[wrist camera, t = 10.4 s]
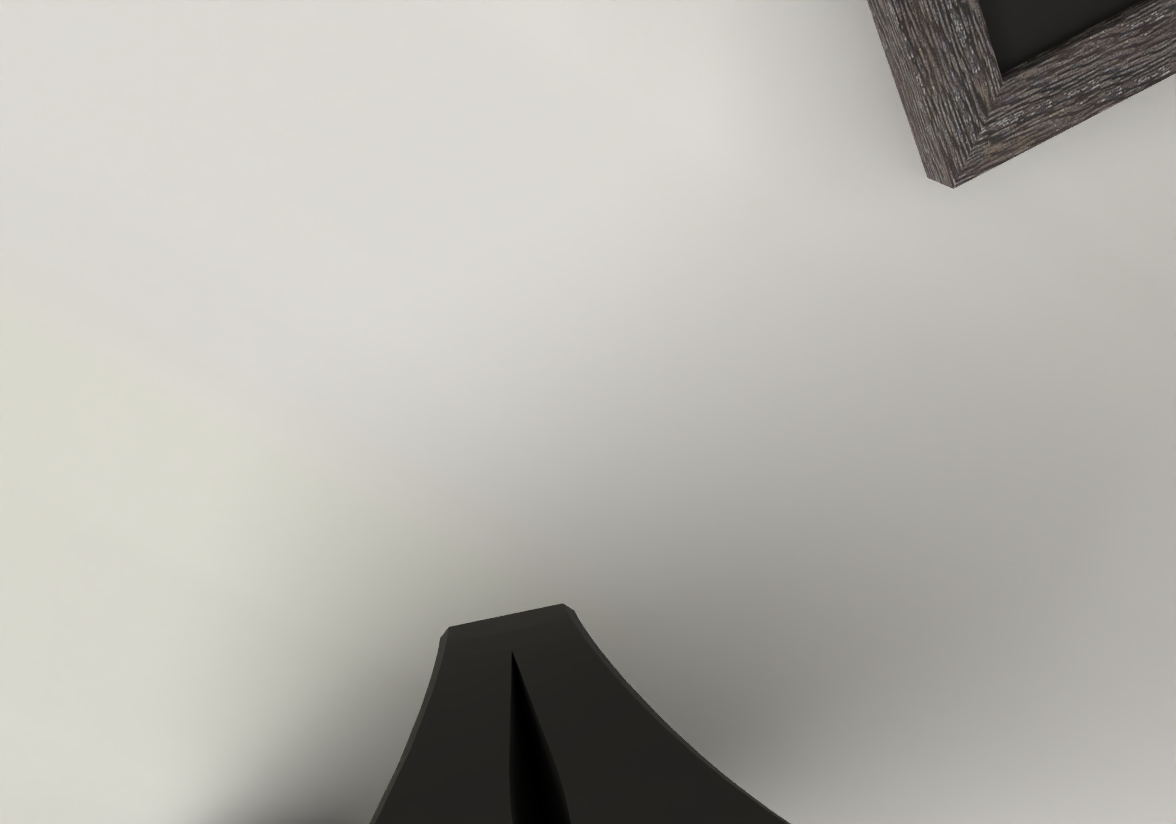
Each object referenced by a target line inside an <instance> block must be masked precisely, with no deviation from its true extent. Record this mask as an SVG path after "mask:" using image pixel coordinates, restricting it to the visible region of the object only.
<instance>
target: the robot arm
mask: <svg viewBox="0 0 1176 824" xmlns="http://www.w3.org/2000/svg"><path fill="white" fill-rule="evenodd" d="M370 824H790V823H789V822H787V821H786V820H784V819H783V818H781V817H780V816H778V815H777V814H775V813H774V812H772V811H771V810H770V809H768V808H767V807H765V806H764V805H763V804H761V803H760V802H759V801H758V800H756V799H755V798H754V797H752V796H751V795H750V794H748V793H747V792H746V791H744V790H743V789H742V788H740V787H739V786H738V785H736V784H735V783H734V782H733V781H731V780H730V779H729V778H728V777H726V776H725V775H724V774H723V773H721V772H720V771H719V770H718V769H717V768H715V767H714V766H713V765H712V764H711V763H710V762H708V761H707V760H706V759H705V758H704V757H703V756H701V755H700V754H699V753H698V752H697V751H696V750H695V749H694V748H693V747H692V746H690V745H689V744H688V743H687V742H686V741H685V740H684V739H683V738H682V737H681V736H679V735H678V734H677V733H676V732H675V731H674V730H673V729H672V728H671V727H670V726H669V725H668V724H667V723H666V722H665V721H664V720H663V719H662V718H661V717H660V716H659V715H658V714H657V713H656V712H655V711H654V710H653V709H652V708H651V707H650V706H649V705H648V704H647V703H646V702H645V701H644V699H643V698H642V697H641V696H640V695H639V694H638V693H637V692H636V691H635V690H634V689H633V688H632V687H631V686H630V685H629V684H628V683H627V681H626V680H625V679H624V678H623V677H622V676H621V675H620V673H619V672H618V671H617V670H616V669H615V668H614V666H613V665H612V664H611V663H610V661H609V660H608V659H607V658H606V656H605V655H604V654H603V653H602V652H601V650H600V649H599V648H598V646H597V645H596V644H595V642H594V641H593V640H592V638H591V637H590V635H589V634H588V633H587V631H586V630H585V628H584V627H583V625H582V624H581V622H580V620H579V619H578V617H577V615H576V613H575V611H574V610H572V609H571V608H569V607H568V606H566V605H564V604H558V605H553V606H548V607H543V608H538V609H534V610H529V611H524V612H519V613H514V614H509V615H505V616H500V617H495V618H490V619H485V620H480V621H476V622H471V623H466V624H461V625H456V626H452V627H449V628H448V629H447V630H446V632H445V633H444V634H443V635H442V637H441V638H440V643H439V649H438V654H437V658H436V662H435V666H434V669H433V673H432V676H431V679H430V682H429V686H428V689H427V692H426V694H425V697H424V700H423V703H422V706H421V709H420V712H419V714H418V717H417V719H416V722H415V724H414V727H413V729H412V732H411V734H410V737H409V739H408V742H407V744H406V747H405V749H404V752H403V754H402V757H401V759H400V762H399V764H398V766H397V768H396V771H395V773H394V775H393V777H392V779H391V781H390V783H389V785H388V787H387V789H386V791H385V793H384V795H383V797H382V799H381V802H380V804H379V806H378V808H377V810H376V812H375V814H374V816H373V818H372V820H371V822H370Z"/></svg>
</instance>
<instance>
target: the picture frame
mask: <svg viewBox="0 0 1176 824" xmlns="http://www.w3.org/2000/svg"><path fill="white" fill-rule="evenodd" d="M867 1H868V4H869V7H870V10H871V13H872V16H873V19H874V22H875V25H876V28H877V31H878V33H879V36H880V39H881V42H882V45H883V48H884V51H885V54H886V57H887V60H888V63H889V66H890V69H891V71H892V74H893V77H894V80H895V83H896V86H897V89H898V92H899V95H900V98H901V101H902V104H903V107H904V110H905V112H906V115H907V118H908V121H909V124H910V127H911V130H912V133H913V136H914V139H915V142H916V145H917V148H918V150H919V153H920V156H921V159H922V162H923V165H924V168H925V171H926V174H927V177H928V178H930V179H932V180H934V181H937V182H939V183H941V184H944V185H946V186H948V187H951V188H953V189H954V188H956V187H958V186H960V185H961V184H963V183H965V182H967V181H969V180H971V179H973V178H975V177H977V176H979V175H981V174H983V173H985V172H986V171H988V170H990V169H992V168H994V167H996V166H998V165H1000V164H1002V163H1004V162H1006V161H1008V160H1010V159H1011V158H1013V157H1015V156H1017V155H1019V154H1021V153H1023V152H1025V151H1027V150H1029V149H1031V148H1033V147H1035V146H1037V145H1038V144H1040V143H1042V142H1044V141H1046V140H1048V139H1050V138H1052V137H1054V136H1056V135H1058V134H1060V133H1062V132H1063V131H1065V130H1067V129H1069V128H1071V127H1073V126H1075V125H1077V124H1079V123H1081V122H1083V121H1085V120H1087V119H1088V118H1090V117H1092V116H1094V115H1096V114H1098V113H1100V112H1102V111H1104V110H1106V109H1108V108H1110V107H1112V106H1113V105H1115V104H1117V103H1119V102H1121V101H1123V100H1125V99H1127V98H1129V97H1131V96H1133V95H1135V94H1137V93H1138V92H1140V91H1142V90H1144V89H1146V88H1148V87H1150V86H1152V85H1154V84H1156V83H1158V82H1160V81H1162V80H1163V79H1165V78H1167V77H1169V76H1171V75H1173V74H1175V73H1176V0H867Z"/></svg>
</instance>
